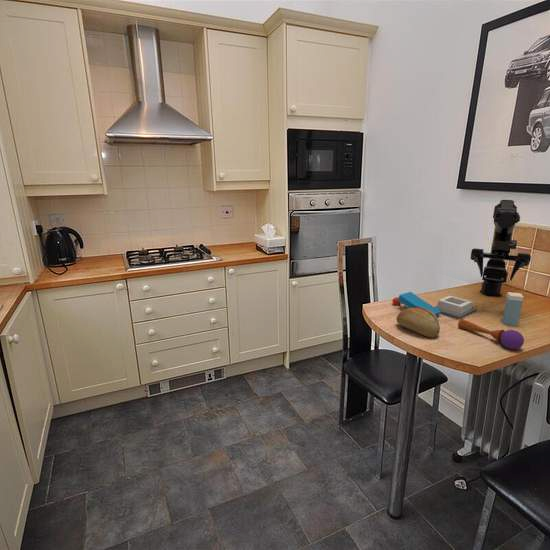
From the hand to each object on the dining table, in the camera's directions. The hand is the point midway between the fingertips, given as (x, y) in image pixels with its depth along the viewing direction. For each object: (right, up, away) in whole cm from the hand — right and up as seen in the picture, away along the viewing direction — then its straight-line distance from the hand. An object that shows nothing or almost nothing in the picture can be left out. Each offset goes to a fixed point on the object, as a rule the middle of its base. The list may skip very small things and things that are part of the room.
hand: (495, 278), depth 133 cm
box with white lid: (+3, -16, -3) cm, 17 cm away
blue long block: (-27, -13, +8) cm, 31 cm away
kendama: (-12, -20, -15) cm, 27 cm away
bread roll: (-33, -18, -9) cm, 38 cm away
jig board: (-12, -13, +8) cm, 19 cm away
